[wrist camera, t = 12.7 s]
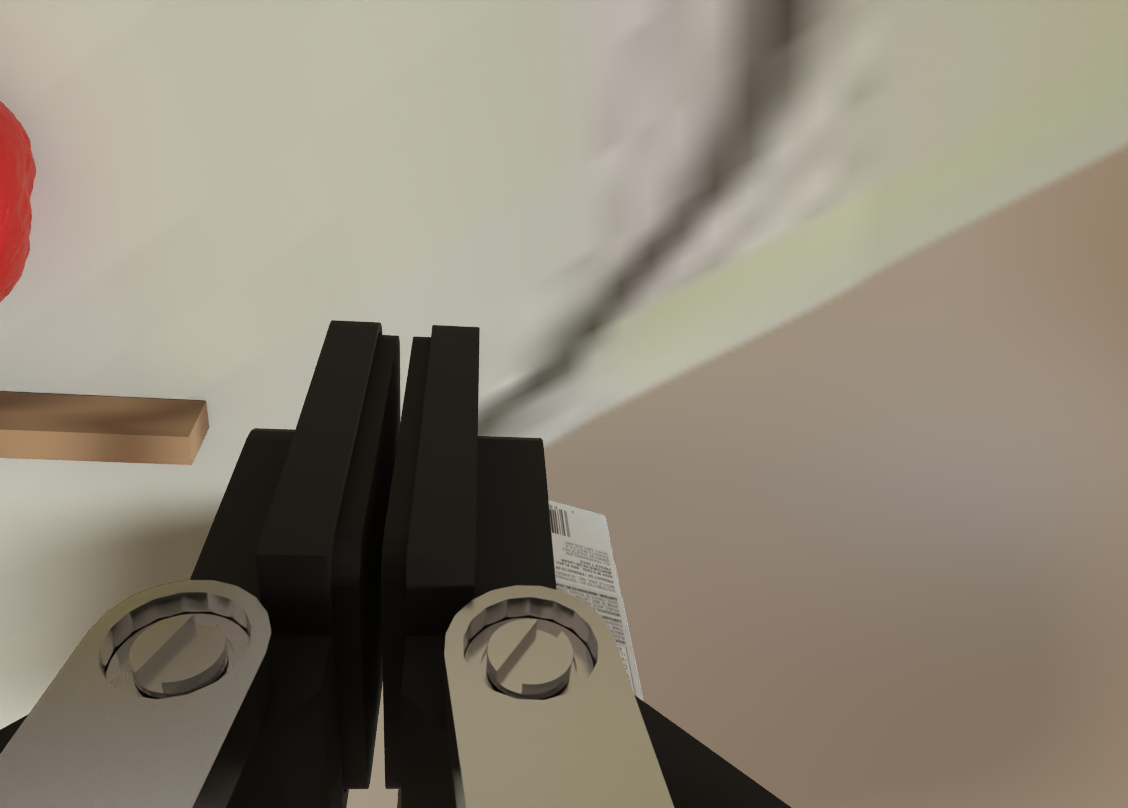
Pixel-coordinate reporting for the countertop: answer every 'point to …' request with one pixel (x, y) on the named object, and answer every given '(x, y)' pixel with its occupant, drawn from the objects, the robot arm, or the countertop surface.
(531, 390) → the countertop surface
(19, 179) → the red tomato
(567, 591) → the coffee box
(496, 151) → the countertop surface
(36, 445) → the display stand
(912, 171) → the countertop surface
